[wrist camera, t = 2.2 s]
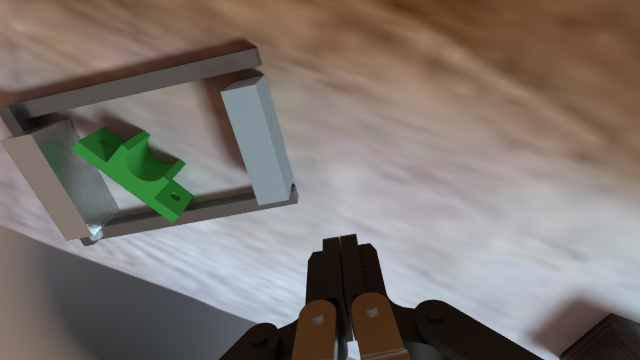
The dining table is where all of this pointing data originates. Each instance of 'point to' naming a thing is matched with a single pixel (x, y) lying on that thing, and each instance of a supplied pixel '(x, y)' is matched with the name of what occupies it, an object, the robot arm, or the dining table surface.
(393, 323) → the robot arm
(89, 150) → the pipe clamp
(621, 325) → the manual coffee grinder
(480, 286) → the dining table surface
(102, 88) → the vise
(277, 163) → the block
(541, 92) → the dining table surface
